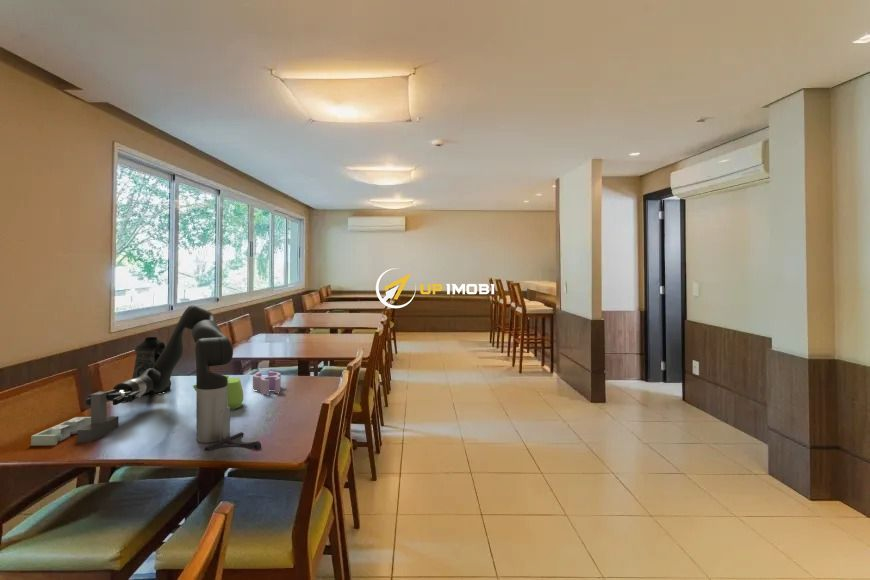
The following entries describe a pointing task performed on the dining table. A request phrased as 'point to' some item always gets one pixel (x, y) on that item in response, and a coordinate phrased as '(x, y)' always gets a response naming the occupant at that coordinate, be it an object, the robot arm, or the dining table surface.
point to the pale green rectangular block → (46, 439)
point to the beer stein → (148, 359)
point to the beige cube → (75, 424)
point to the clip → (267, 382)
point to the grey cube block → (60, 431)
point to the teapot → (233, 392)
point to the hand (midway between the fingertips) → (100, 402)
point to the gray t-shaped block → (98, 420)
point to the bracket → (234, 443)
